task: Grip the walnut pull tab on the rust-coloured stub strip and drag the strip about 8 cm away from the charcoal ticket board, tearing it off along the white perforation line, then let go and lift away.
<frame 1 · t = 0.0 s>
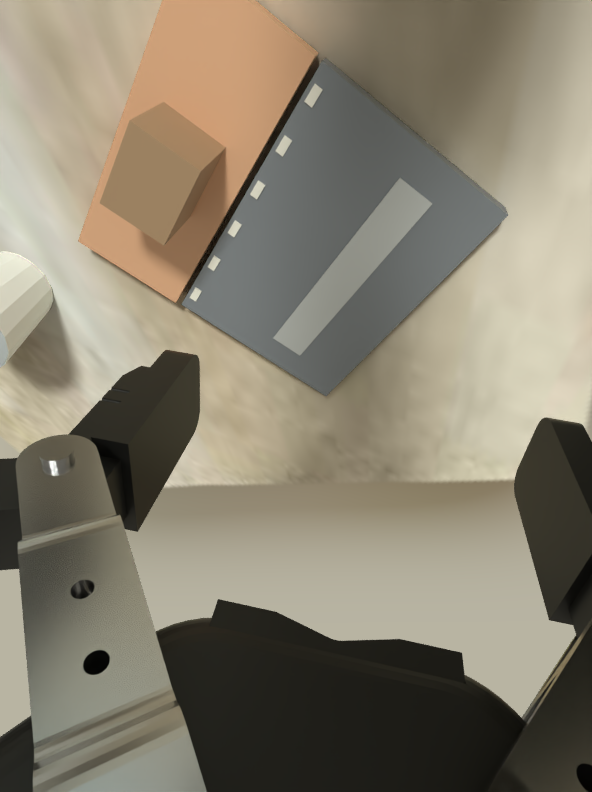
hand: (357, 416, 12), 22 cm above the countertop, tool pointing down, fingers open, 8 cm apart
shot glass: (20, 283, 40), on the countertop
ticket board: (327, 257, 33), on the countertop
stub: (167, 171, 29), point 3 cm above the countertop, slide at 0.0 cm
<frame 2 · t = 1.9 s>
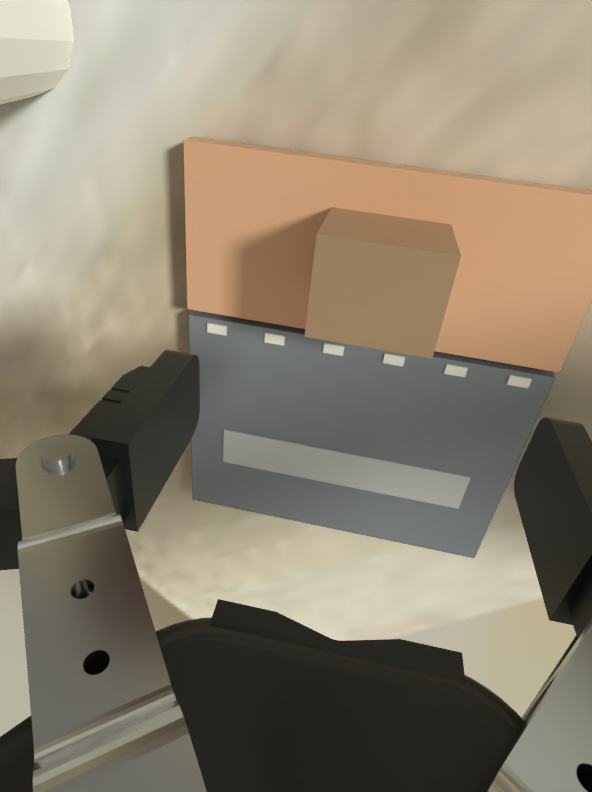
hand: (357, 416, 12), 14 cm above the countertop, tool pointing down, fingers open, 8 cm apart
shot glass: (13, 18, 21), on the countertop
ticket board: (347, 435, 29), on the countertop
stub: (380, 274, 21), point 3 cm above the countertop, slide at 0.0 cm
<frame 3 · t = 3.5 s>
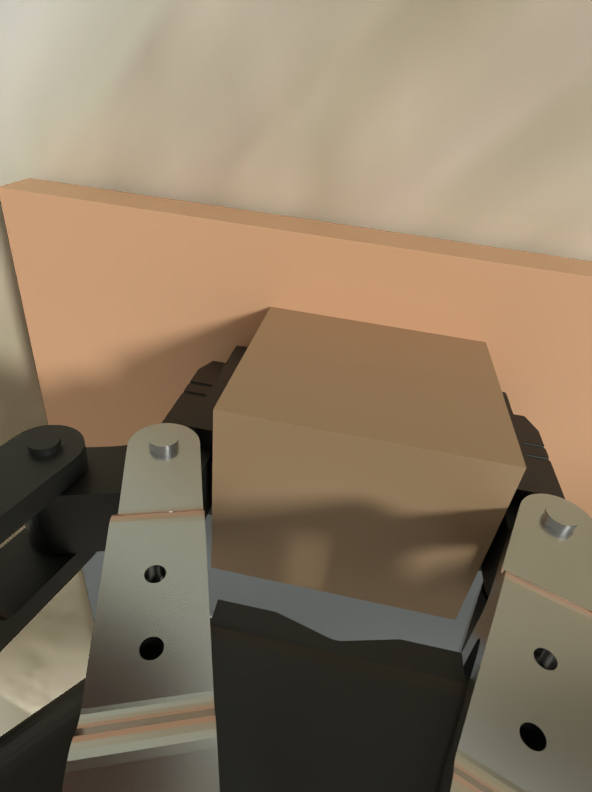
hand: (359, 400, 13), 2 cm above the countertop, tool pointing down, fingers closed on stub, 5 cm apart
ticket board: (316, 603, 20), on the countertop
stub: (356, 433, 11), point 3 cm above the countertop, slide at 0.0 cm, touching gripper
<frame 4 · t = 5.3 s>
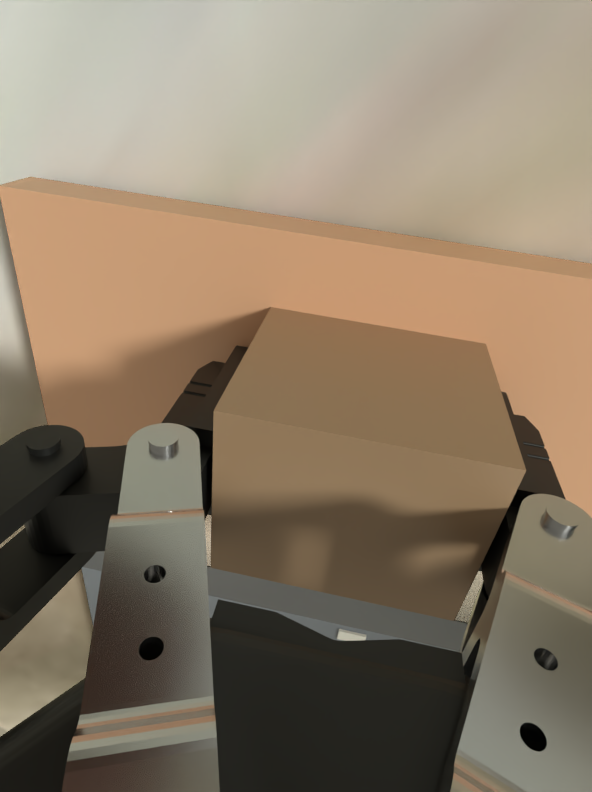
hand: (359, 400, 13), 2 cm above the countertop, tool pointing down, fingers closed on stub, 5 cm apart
ticket board: (299, 678, 23), on the countertop
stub: (356, 434, 11), point 3 cm above the countertop, slide at 5.8 cm, touching gripper
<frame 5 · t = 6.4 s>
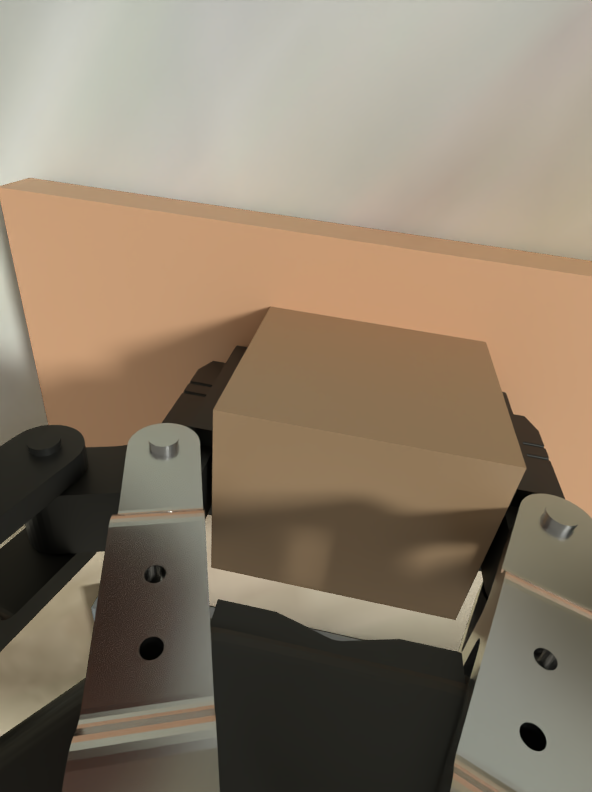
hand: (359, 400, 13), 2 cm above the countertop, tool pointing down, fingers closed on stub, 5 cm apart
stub: (356, 433, 11), point 3 cm above the countertop, slide at 8.3 cm, touching gripper
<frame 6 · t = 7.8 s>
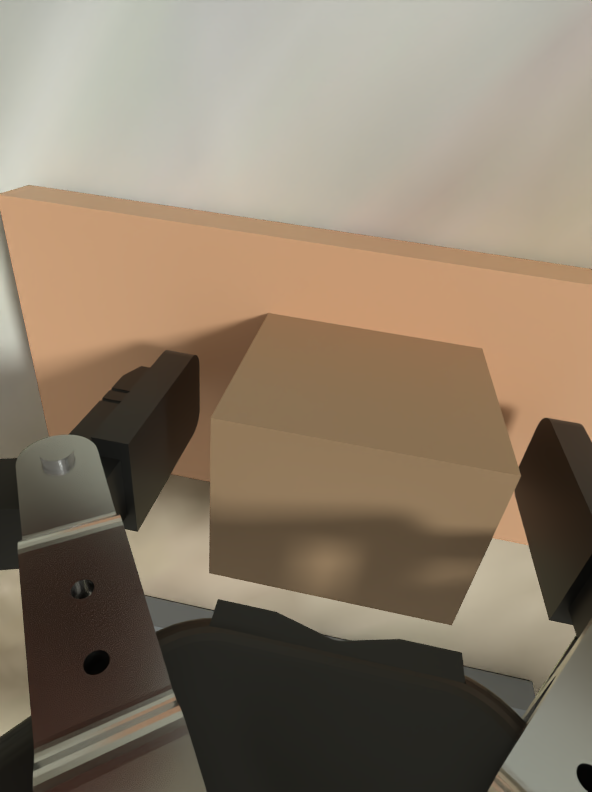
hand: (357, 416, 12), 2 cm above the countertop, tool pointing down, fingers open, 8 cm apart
ticket board: (294, 709, 24), on the countertop
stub: (354, 438, 11), point 3 cm above the countertop, slide at 8.3 cm
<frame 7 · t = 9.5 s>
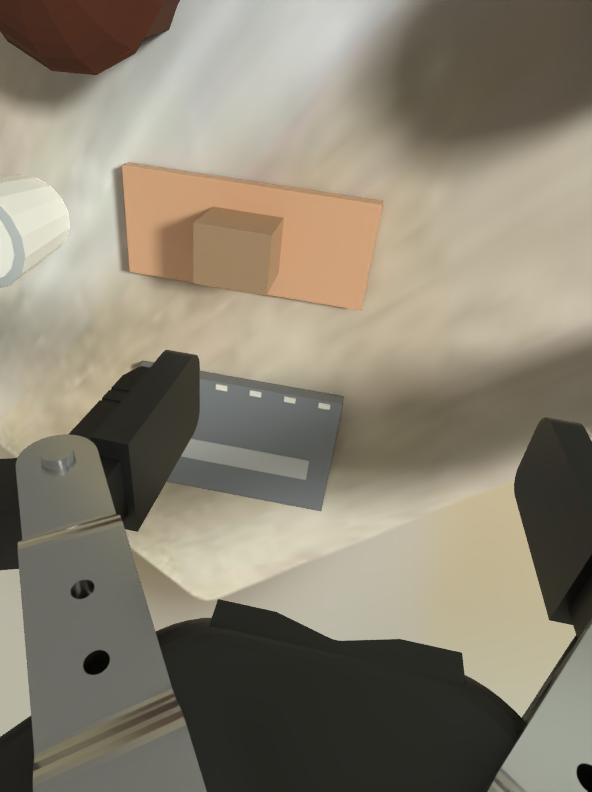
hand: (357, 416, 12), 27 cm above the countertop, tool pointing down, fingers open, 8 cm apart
shot glass: (36, 213, 39), on the countertop
ticket board: (238, 436, 48), on the countertop
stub: (241, 247, 35), point 3 cm above the countertop, slide at 8.3 cm
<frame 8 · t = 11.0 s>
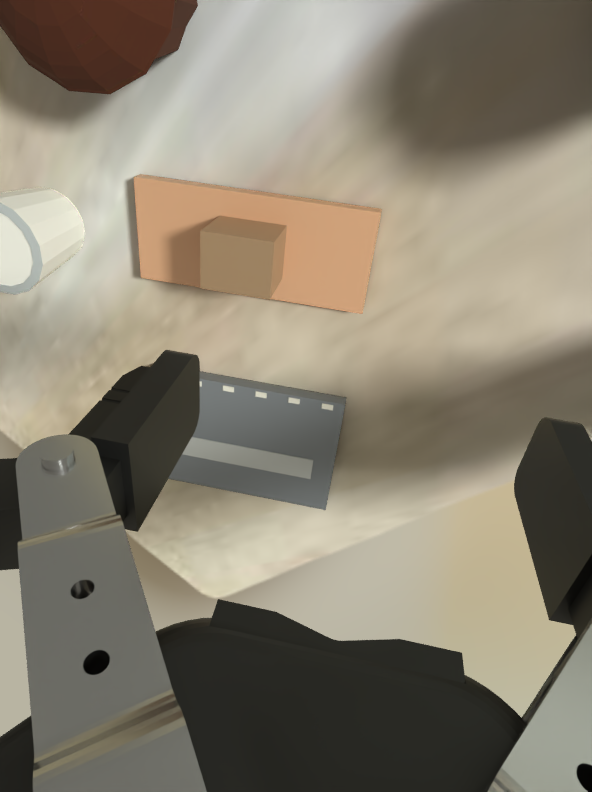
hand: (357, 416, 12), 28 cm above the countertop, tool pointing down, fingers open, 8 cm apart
shot glass: (53, 223, 41), on the countertop
ticket board: (245, 436, 49), on the countertop
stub: (246, 254, 36), point 3 cm above the countertop, slide at 8.3 cm
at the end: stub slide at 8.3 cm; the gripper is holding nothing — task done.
